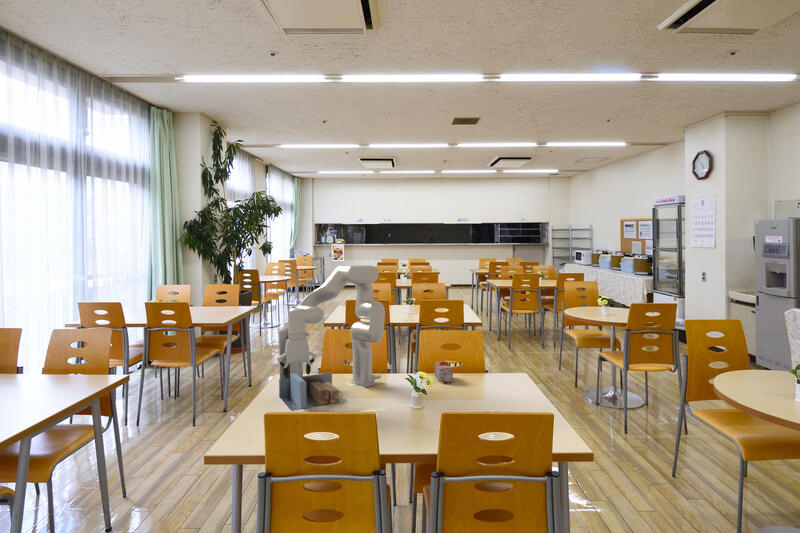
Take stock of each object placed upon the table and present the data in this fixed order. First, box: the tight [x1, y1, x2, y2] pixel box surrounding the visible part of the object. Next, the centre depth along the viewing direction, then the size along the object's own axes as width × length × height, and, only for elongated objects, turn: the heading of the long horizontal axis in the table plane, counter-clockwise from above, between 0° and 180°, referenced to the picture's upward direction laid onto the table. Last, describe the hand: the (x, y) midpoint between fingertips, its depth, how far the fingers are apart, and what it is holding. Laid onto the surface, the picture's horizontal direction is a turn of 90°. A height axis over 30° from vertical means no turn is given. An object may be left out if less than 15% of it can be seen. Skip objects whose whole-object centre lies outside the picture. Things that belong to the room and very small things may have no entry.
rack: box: [278, 372, 348, 412], centre depth 213 cm, size 25×21×9 cm
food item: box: [434, 360, 454, 383], centre depth 246 cm, size 14×8×10 cm, turn 13°
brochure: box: [278, 327, 304, 379], centre depth 229 cm, size 14×6×30 cm, turn 168°
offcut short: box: [321, 382, 340, 403], centre depth 215 cm, size 4×14×5 cm, turn 28°
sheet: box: [290, 373, 308, 409], centre depth 209 cm, size 2×16×11 cm, turn 28°
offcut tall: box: [310, 382, 329, 404], centre depth 213 cm, size 4×14×6 cm, turn 28°
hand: (297, 375), depth 208 cm, fingers open, 9 cm apart
